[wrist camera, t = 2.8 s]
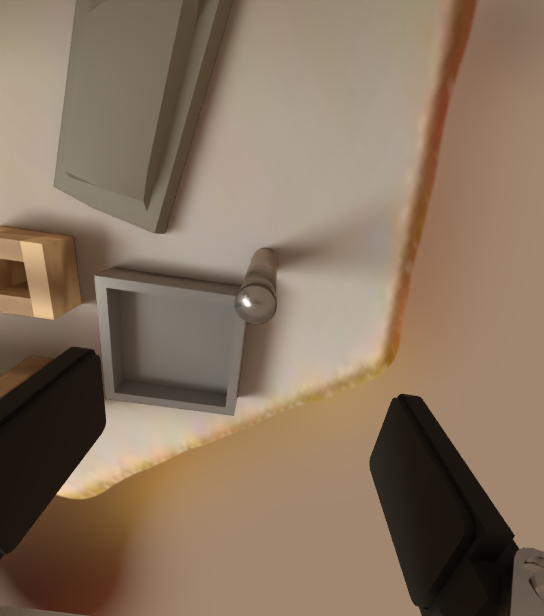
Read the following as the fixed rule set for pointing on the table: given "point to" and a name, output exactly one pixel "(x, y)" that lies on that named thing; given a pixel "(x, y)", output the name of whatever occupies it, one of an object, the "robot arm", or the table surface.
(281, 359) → the table surface
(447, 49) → the table surface
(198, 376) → the tray
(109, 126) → the soap mold
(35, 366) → the walnut block
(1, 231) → the oak block
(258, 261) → the gauge pin
